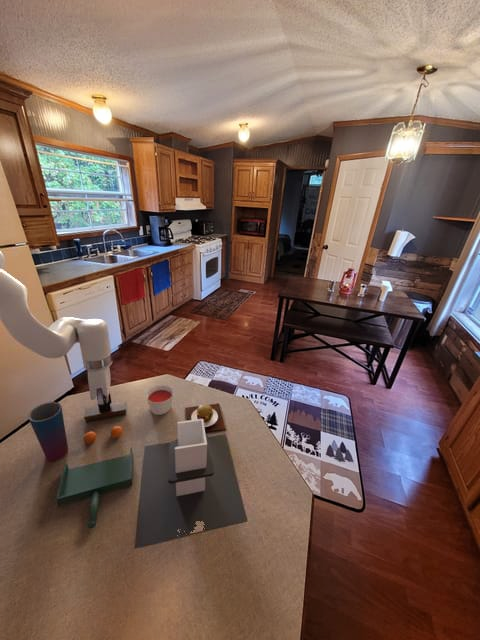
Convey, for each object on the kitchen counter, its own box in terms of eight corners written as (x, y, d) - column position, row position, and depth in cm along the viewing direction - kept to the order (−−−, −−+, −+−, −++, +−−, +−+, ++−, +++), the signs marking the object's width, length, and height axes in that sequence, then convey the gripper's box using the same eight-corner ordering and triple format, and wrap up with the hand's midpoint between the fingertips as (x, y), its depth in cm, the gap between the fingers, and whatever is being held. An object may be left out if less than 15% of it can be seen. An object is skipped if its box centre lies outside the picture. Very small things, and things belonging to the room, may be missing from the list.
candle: (142, 407, 88) (140, 393, 85) (164, 395, 94) (163, 381, 92) (157, 421, 83) (156, 406, 80) (179, 407, 89) (179, 393, 87)
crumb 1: (82, 445, 73) (80, 437, 71) (88, 436, 76) (87, 428, 74) (92, 446, 73) (91, 438, 71) (99, 437, 76) (97, 429, 74)
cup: (37, 466, 66) (22, 423, 60) (47, 445, 72) (35, 403, 66) (67, 461, 68) (55, 419, 62) (75, 441, 74) (65, 400, 68)
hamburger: (218, 404, 92) (219, 392, 90) (225, 430, 82) (226, 417, 80) (185, 408, 89) (185, 396, 87) (188, 435, 79) (187, 422, 76)
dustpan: (67, 470, 66) (65, 463, 65) (132, 454, 71) (131, 447, 70) (48, 546, 51) (45, 538, 50) (132, 518, 57) (131, 511, 56)
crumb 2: (109, 439, 75) (107, 431, 74) (114, 431, 78) (113, 423, 77) (119, 440, 75) (118, 432, 74) (124, 432, 78) (123, 424, 77)
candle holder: (144, 446, 74) (140, 402, 68) (225, 434, 80) (229, 392, 74) (134, 548, 52) (126, 497, 46) (247, 520, 58) (254, 472, 52)
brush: (87, 414, 83) (82, 393, 80) (126, 407, 88) (124, 387, 84) (85, 423, 80) (80, 401, 77) (126, 415, 84) (123, 394, 81)
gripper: (87, 348, 81) (95, 393, 88) (78, 377, 67) (88, 429, 74) (113, 345, 84) (119, 390, 91) (109, 373, 70) (116, 423, 77)
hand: (105, 407), depth 83 cm, fingers closed on brush, 2 cm apart
